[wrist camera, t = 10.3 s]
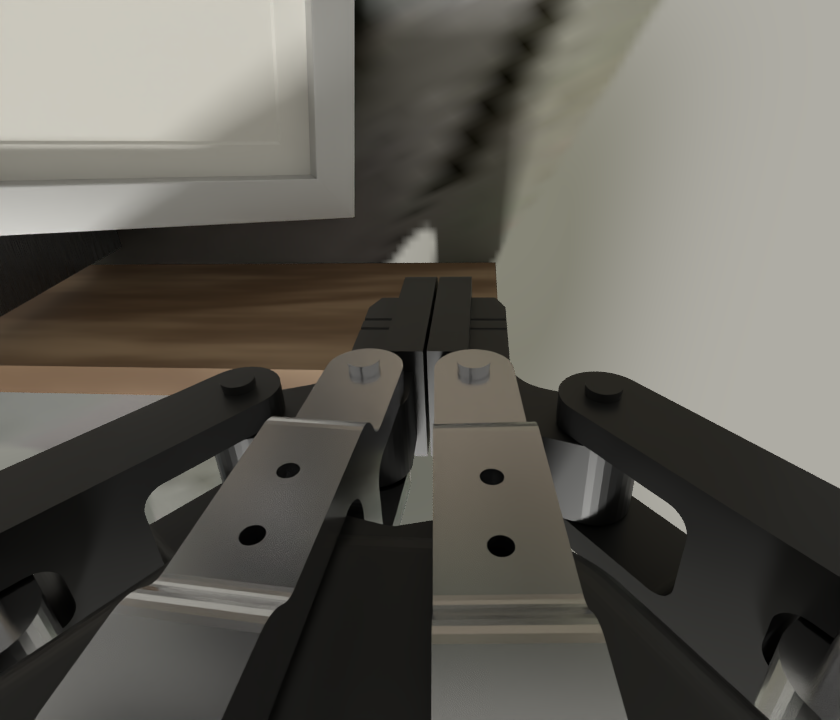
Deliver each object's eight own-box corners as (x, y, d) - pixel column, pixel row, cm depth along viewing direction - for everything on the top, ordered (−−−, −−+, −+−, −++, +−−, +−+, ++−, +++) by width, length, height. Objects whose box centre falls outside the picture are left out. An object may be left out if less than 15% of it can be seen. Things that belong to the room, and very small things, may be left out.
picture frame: (354, 217, 34) (-86, 240, 26) (340, 207, 36) (-69, 224, 28) (354, -121, 27) (-257, -238, 19) (336, -108, 29) (-215, -207, 21)
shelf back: (89, 264, 40) (-84, 364, 28) (495, 262, 37) (501, 372, 25) (96, 284, 40) (-70, 390, 28) (494, 284, 38) (500, 401, 25)
